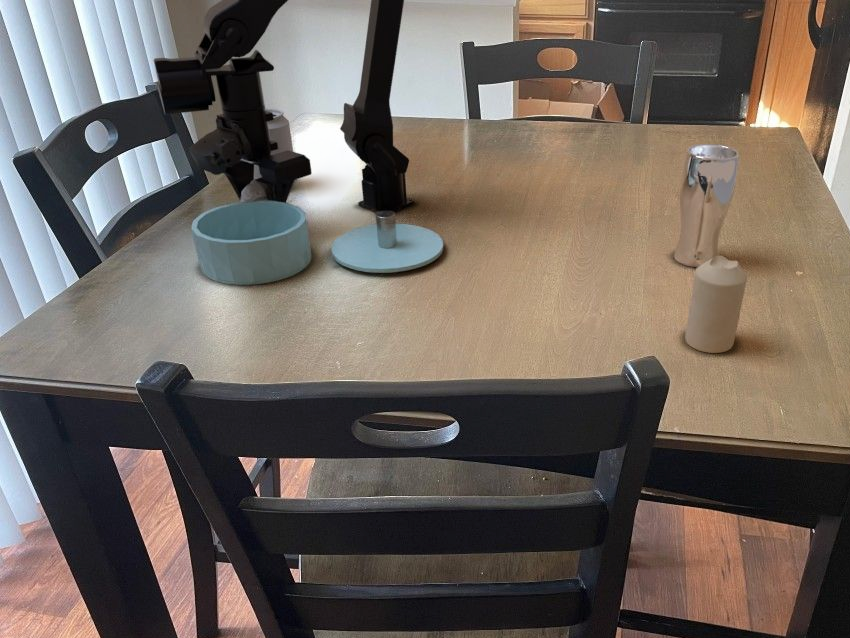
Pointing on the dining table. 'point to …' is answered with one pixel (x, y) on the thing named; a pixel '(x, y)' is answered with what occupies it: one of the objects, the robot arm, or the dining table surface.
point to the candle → (715, 305)
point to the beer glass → (705, 201)
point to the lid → (387, 246)
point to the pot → (252, 242)
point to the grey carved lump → (253, 192)
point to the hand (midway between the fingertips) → (262, 214)
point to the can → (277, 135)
